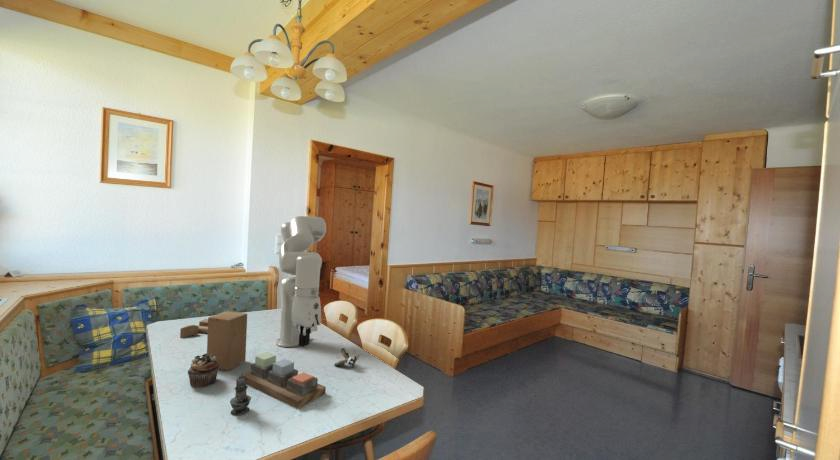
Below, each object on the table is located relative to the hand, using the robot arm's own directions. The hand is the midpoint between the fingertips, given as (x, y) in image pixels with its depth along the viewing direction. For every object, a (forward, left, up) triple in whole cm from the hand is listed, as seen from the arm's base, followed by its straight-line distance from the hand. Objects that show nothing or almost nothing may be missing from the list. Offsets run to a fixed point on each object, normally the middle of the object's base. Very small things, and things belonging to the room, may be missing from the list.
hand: (304, 345), depth 118 cm
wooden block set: (-13, -83, -18) cm, 86 cm away
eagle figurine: (-27, -5, -18) cm, 33 cm away
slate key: (0, -10, -13) cm, 16 cm away
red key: (0, 0, -15) cm, 15 cm away
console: (0, -10, -18) cm, 20 cm away
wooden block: (+1, -43, -18) cm, 46 cm away
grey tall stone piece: (+17, -8, -18) cm, 26 cm away
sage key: (0, -20, -13) cm, 23 cm away
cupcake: (+14, -35, -18) cm, 42 cm away
